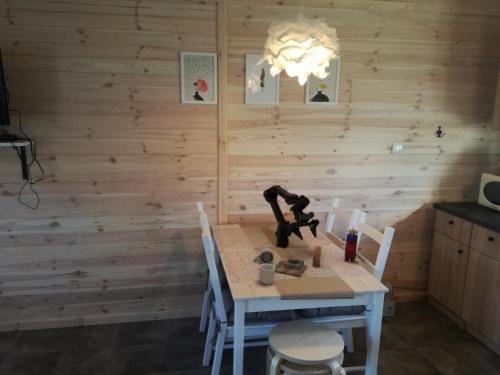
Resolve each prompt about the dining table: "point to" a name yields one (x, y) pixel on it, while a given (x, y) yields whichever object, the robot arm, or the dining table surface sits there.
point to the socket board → (291, 267)
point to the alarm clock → (351, 244)
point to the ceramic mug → (265, 256)
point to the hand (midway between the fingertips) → (309, 238)
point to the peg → (316, 256)
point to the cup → (266, 273)
